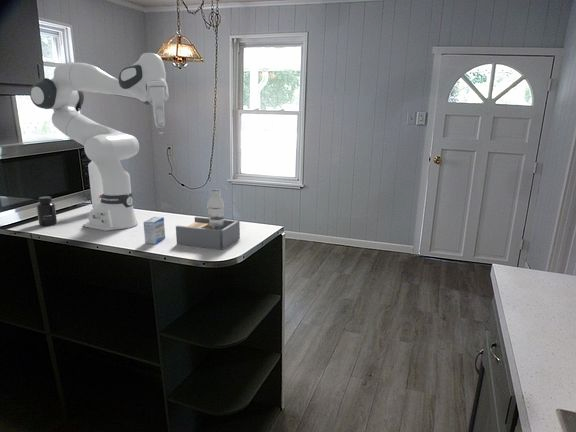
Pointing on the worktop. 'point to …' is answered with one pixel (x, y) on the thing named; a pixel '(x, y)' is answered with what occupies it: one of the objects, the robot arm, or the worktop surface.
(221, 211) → the plastic bottle
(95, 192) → the bottle
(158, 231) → the medicine box
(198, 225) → the upper offcut
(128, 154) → the robot arm
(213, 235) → the open box
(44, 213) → the supplement bottle
